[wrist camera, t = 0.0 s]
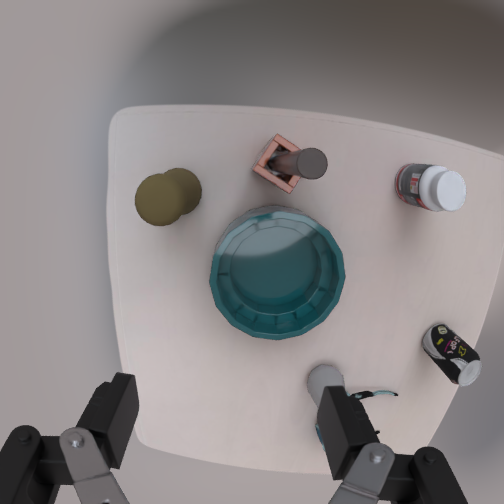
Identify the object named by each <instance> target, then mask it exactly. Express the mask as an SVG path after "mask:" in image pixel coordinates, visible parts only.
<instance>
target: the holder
mask: <svg viewBox="0 0 504 504" xmlns="http://www.w3.org/2000/svg"><path fill="white" fill-rule="evenodd" d="M298 150H301V149H299V148H298V147H297V146H295V145H294V144H292V143H291V142H289V141H288V140H286V139H285V138H283V137H282V136H280V135H279V134H276V135H275V136H274V137H272V138H271V139H270V140H269V142H268V144H267V145H266V146H265V148H264V149H263V151H262V152H261V154H260V155H259V157H258V158H257V160H256V161H255V163H254V164H253V166H252V167H251V170H253V171H254V172H256V173H257V174H259V175H260V176H262V177H263V178H265V179H267V180H268V181H270V182H271V183H273V184H274V185H276V186H277V187H279V188H280V189H282V190H284V191H285V192H287V193H289V194H290V193H291V191H292V190H293V187H295V185H296V184H297V182H298V181H299V179H300V178H301V177H297V176H293V175H288V174H283V173H279V172H274V171H272V170H271V169H270V168H269V165H268V162H269V160H270V158H272V157H273V156H277V155H281V154H285V153H290V152H294V151H298Z"/></svg>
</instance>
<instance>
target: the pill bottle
mask: <svg viewBox="0 0 504 504" xmlns="http://www.w3.org/2000/svg"><path fill="white" fill-rule="evenodd" d="M395 186H396V191H397V193H398V195H399V197H400V198H401V199H402V200H403V201H404V202H406V203H408V204H411V205H415V206H418V207H422V208H425V209H428V210H431V211H437V212H438V211H443V210H445V211H456V210H458V209H459V208H460V207H461V206H462V205H463V203H464V201H465V197H466V186H465V182H464V180H463V178H462V177H461V176H460V175H459V174H458V173H457V172H454V171H449V170H448V169H446V168H445V167H443V166H439V165H426V164H408V165H405V166H404V167H402V168H401V169H400V171H399V172H398V174H397V176H396V181H395Z"/></svg>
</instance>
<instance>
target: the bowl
mask: <svg viewBox="0 0 504 504" xmlns="http://www.w3.org/2000/svg"><path fill="white" fill-rule="evenodd" d="M344 281H345V270H344V262H343V254H342V251H341V250H340V248H339V246H338V245H337V243H336V241H335V240H334V238H333V237H332V235H331V233H330V232H329V231H328V230H327V229H326V228H324V227H323V226H322V225H321V224H319V223H318V222H317V221H315V220H314V219H312V218H311V217H309V216H308V215H306V214H305V213H303V212H302V211H300V210H298V209H294V208H289V207H284V206H278V205H271V206H266V207H262V208H257V209H252V210H249V211H248V212H246V213H245V214H243V215H242V216H240V217H239V218H238V219H236V220H235V221H233V222H232V223H230V224H229V226H228V227H227V229H226V230H225V232H224V233H223V235H222V237H221V238H220V240H219V241H218V243H217V245H216V248H215V252H214V255H213V261H212V267H211V274H210V280H209V283H210V287H211V290H212V294H213V297H214V301H215V305H216V307H217V308H218V309H219V311H220V312H221V313H222V314H223V315H224V317H225V318H226V319H227V320H228V322H229V323H230V324H231V325H232V326H234V327H236V328H238V329H239V330H241V331H243V332H245V333H247V334H249V335H251V336H252V337H257V338H264V339H272V340H282V339H286V338H291V337H295V336H299V335H302V334H304V333H306V332H308V331H309V330H311V329H312V328H314V327H315V326H317V325H319V324H320V323H322V322H323V321H324V320H325V319H326V318H327V316H328V315H329V314H330V312H331V311H332V310H333V309H334V307H335V306H336V305H337V303H338V301H339V299H340V295H341V292H342V288H343V285H344Z"/></svg>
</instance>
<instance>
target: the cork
mask: <svg viewBox="0 0 504 504" xmlns="http://www.w3.org/2000/svg"><path fill="white" fill-rule="evenodd" d="M201 192H202V189H201V185H200V182H199V180H198V178H197V177H196V176H195V175H194V174H193V173H192V172H191V171H189V170H186V169H183V168H175V169H171V170H168V171H167V172H165V173H164V174H155V175H152V176H149V177H148V178H146V179H145V180H144V181H143V182H142V183H141V184H140V186H139V187H138V189H137V192H136V195H135V206H136V209H137V212H138V214H139V215H140V217H141V218H142V219H143V220H144V221H146V222H147V223H149V224H152V225H154V226H166V225H170V224H172V223H173V222H175V221H176V220H178V219H179V217H180V216H181V215H184V214H187V213H189V212H191V211H192V210H194V209H195V207H196V206H197V205H198V204H199V201H200V199H201Z"/></svg>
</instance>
